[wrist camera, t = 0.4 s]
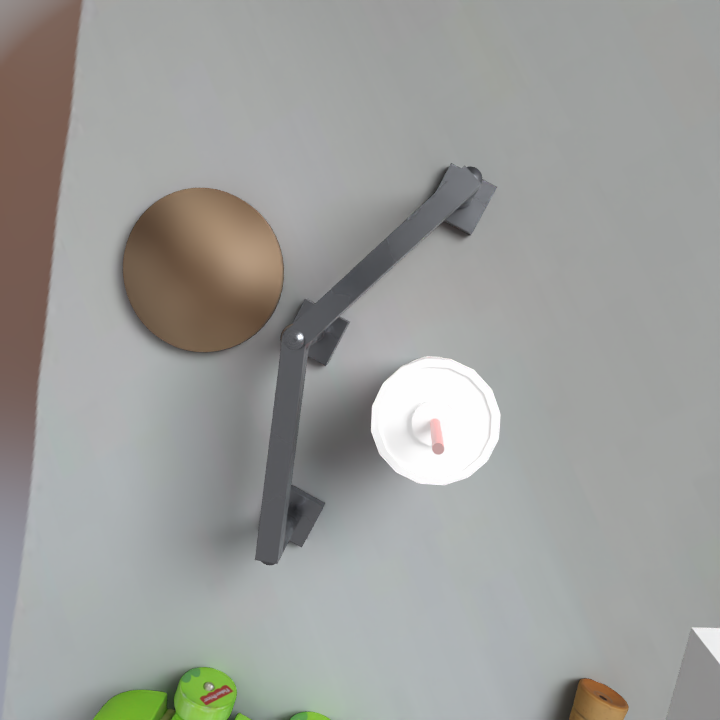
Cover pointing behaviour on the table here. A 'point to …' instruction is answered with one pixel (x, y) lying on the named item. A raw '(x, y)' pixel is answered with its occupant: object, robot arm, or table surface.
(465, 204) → the bent rail
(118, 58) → the table surface
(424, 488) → the table surface
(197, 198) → the walnut pad
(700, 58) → the table surface
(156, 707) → the toy crocodile
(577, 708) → the kendama
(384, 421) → the beverage cup
